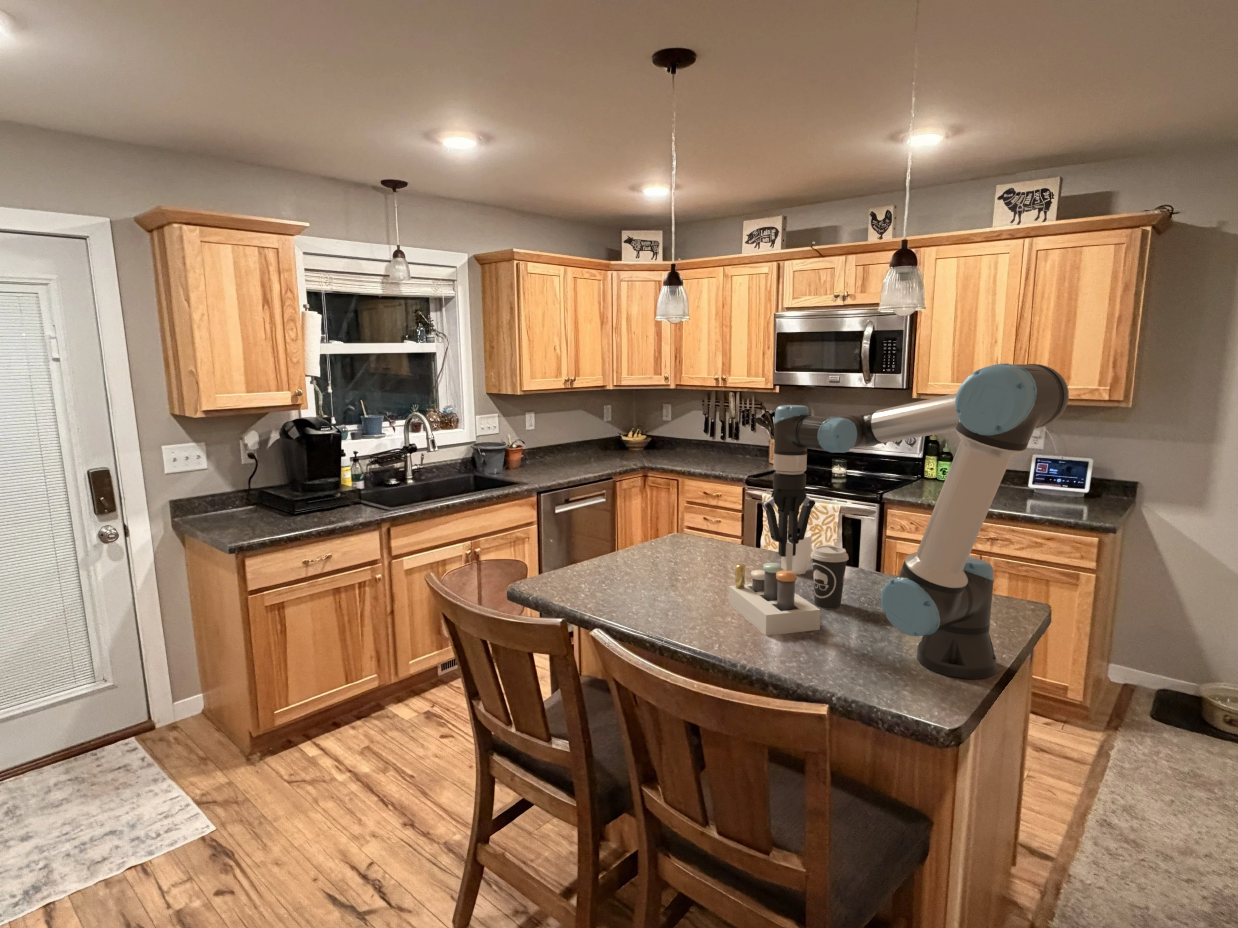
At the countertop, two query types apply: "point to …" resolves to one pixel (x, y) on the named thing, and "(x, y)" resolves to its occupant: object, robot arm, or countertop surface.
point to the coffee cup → (828, 575)
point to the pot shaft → (740, 576)
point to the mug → (802, 554)
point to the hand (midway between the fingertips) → (786, 568)
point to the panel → (774, 612)
